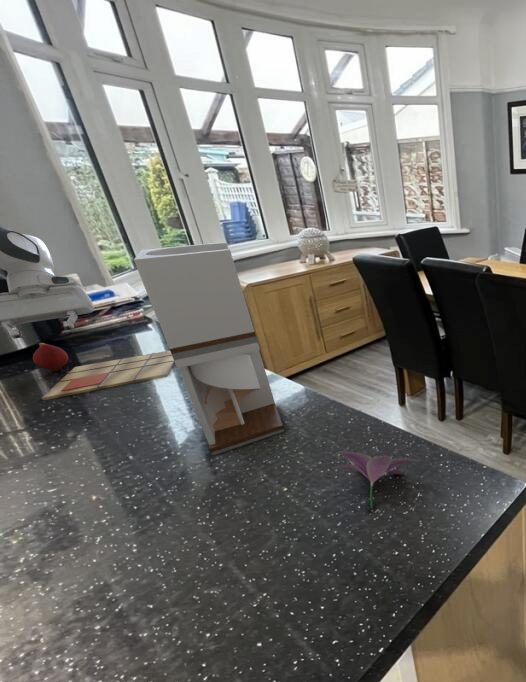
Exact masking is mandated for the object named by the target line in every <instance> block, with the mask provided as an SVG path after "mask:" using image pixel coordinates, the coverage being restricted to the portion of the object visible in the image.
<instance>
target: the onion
mask: <svg viewBox="0 0 526 682" xmlns="http://www.w3.org/2000/svg"><path fill="white" fill-rule="evenodd" d="M38 345H39V347H38V348H37V349H36V350H35V351H34V353H33V355H32V362H33V363H34V364H35V366H37V367H38V368H41V369H44V370H49V371H52V372H58V371H60V370H62V368H63V367H65V365H66V364H67V362H69V356H68V353H67V352H66V351H65V350H64V349H62V348H61V347H58V346H55V345H51V344H47V343H44V342H39V343H38Z"/></svg>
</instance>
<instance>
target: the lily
mask: <svg viewBox="0 0 526 682" xmlns="http://www.w3.org/2000/svg"><path fill="white" fill-rule="evenodd" d="M336 453H338V454H339V455H340V456H342V457H344V458H345V459H346V460H347V461H348V462H349V464H348V463H346V464H341V465H337V466H333V467H331V470H352V471H353V470H354V471H357V472H359V473H361V474H362V475H363V476H364V477H365V478H366V479H368V481H369V483H370V487H369V488H370V489H369V500H370V503H369V504H370V509H373V508H374V504H373V487H374V484H375V482H376V481H378V480H379V479H380V478H381V477H383V476H384V475H387V474H392V475H393V474H394V475H404V472H402V471H401V470H400V469H398V467H401V466H404V465H407V464H414V463H420V462H422V461H421V460H420V459H415V458H407V457H398V458H391V457H390V455H374V456H373V457H371V456H369V455H367V454H364V453H360V452H354V451H342V450H341V451H337V452H336Z"/></svg>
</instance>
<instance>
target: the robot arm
mask: <svg viewBox="0 0 526 682" xmlns="http://www.w3.org/2000/svg"><path fill="white" fill-rule="evenodd" d="M0 269H1V270H3V271H6V273H7V275H6V283H7V288H8V292H7V291H6V292H0V328H5V330H7V331H8V332H9V334H10V337H11V338H12V339H14V340H15V339H21V338H22V339H23V338H24V335H23V332H22V331H21V330H20V329H19V328H18V329H17V328H16V329H15V326H16V325H17V326H18V325H24V324H30V323H37V322H43V321H48V320H54V319H55V320H56V319H61V318H67V320H65V321H62V324H63V327H64V329H65V330H66V331H68V330H75V323H76V321H77V320H78V318H79V316H81V315H86V314H92V313H93V312H94V311H95V306H94V304H93V303H94V302H93V301H92V299H91V297H90V296H89V294H88V293H87V292H86V291H85V290H84V288H83V286H82V284H81V283H80V282H79V281H78V280H77V279H76V278H75V277H73V276H65V275H64V276H63V275H56V274H55V273H54V272H55V264H54V260H53V258H52V254H51V252H50V251H49V248H48V247H47V245H46V244H45V242H44V241H42V240H41V239H40V238H38V237H36V236H33V235H30V234H27V233H26V234H25V233H20V232H18V231H15V230H12V229H10V228H7V227H5V226H4V227H3V226H0Z"/></svg>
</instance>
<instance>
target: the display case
mask: <svg viewBox="0 0 526 682" xmlns="http://www.w3.org/2000/svg"><path fill="white" fill-rule="evenodd" d="M133 261H134V264H135V267H136V269H137V271H138V274H139V277H140V279H141V281H142V284H143V287H144V289H145V292H146V294H147V296H148V299H149V302H150V304H151V306H152V309H153V312H154V314H155V316H156V319H157V322H158V324H159V326H160V329H161V332H162V334H163V337H164V339H165V341H166V344H167V347H168V349H169V351H170V352H171V354H172V357H173V359H174V365H175V367H176V369H178V371H179V374H180V376H181V378H182V381H183V383H184V387H185V388H186V391H187V394H188V396H189V398H190V401H191V403H192V406H193V409H194V411H195V414H196V417H197V418H198V421H199V423H200V426H201V429H202V431H203V434H204V437H205V438H206V441H207V444H208V447H209V448H208V449H209V452H210V454H211V456H215V455H218V454H222V453H225V452H227V451H230V450H232V449H233V450H234V449H236V448H239V447H242V446H245V445H249V444H251V443H254V442H257V441H260V440H263V439H266V438H270V437H272V436H276V435H278V434H281V433H284V432H285V428H284V425H283V422H282V420H281V416H280V414H279V411H278V408H277V404H276V401H275V399H274V395H273V391H272V389H271V388H272V387H271V386H270V385H271V384H270V383H269V382H270V381H269V379H268V375H267V371H266V369H265V366H264V362H263V359H262V356H261V352H260V350H261V348H260V345H259V342H258V338H257V335H256V331H255V328H254V325H253V322H252V318H251V315H250V311H249V308H248V306H247V302H246V298H245V295H244V292H243V288H242V285H241V281H240V278H239V275H238V272H237V269H236V265H235V261H234V259H233V255H232V251H231V249H230V248H229V246H228V242H227V241H223V242H222V241H221V242H211V243H201V244H190V245H189V244H188V245H177V246H167V247H156V248H144V249H141V250H140V251H139V252H138V253H137V255H136V256H135V257H134V259H133Z"/></svg>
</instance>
